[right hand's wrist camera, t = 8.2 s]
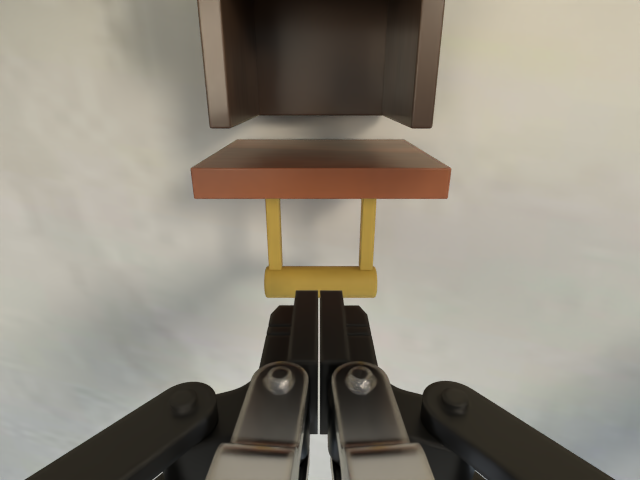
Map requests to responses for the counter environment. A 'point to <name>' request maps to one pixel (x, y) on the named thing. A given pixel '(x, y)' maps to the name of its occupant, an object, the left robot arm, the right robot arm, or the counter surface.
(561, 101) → the counter surface
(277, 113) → the drawer
